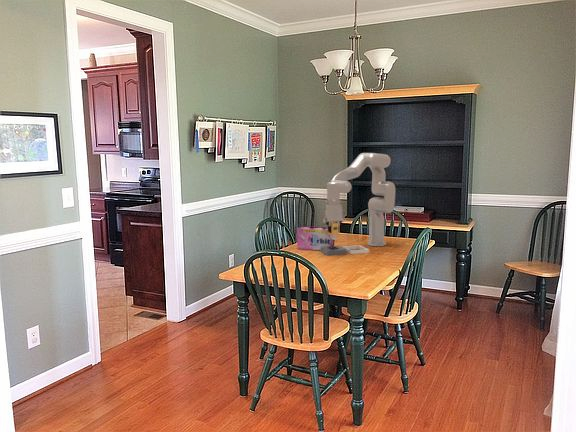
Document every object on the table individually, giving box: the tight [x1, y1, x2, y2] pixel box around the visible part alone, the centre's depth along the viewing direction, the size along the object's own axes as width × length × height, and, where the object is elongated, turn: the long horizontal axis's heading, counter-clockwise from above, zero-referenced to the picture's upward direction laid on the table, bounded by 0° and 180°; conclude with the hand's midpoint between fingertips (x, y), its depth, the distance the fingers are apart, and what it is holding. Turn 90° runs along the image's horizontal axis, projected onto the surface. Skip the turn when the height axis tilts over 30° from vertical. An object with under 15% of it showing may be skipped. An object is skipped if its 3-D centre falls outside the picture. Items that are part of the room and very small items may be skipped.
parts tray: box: [341, 244, 370, 255], centre depth 313 cm, size 14×12×3 cm
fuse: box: [329, 221, 340, 241], centre depth 306 cm, size 4×6×10 cm, turn 16°
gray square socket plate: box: [320, 245, 347, 257], centre depth 308 cm, size 12×12×4 cm
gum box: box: [296, 225, 336, 251], centre depth 319 cm, size 24×8×14 cm, turn 68°
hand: (333, 232), depth 306 cm, fingers closed on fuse, 4 cm apart
